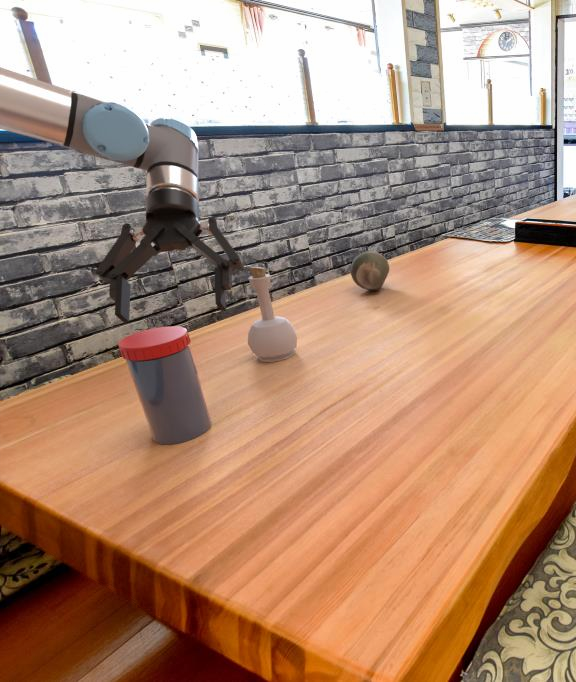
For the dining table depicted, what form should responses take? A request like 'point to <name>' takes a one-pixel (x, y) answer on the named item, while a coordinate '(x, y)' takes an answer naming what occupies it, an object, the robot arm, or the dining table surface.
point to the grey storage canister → (171, 397)
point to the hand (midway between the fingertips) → (172, 312)
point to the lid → (154, 343)
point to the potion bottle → (269, 325)
